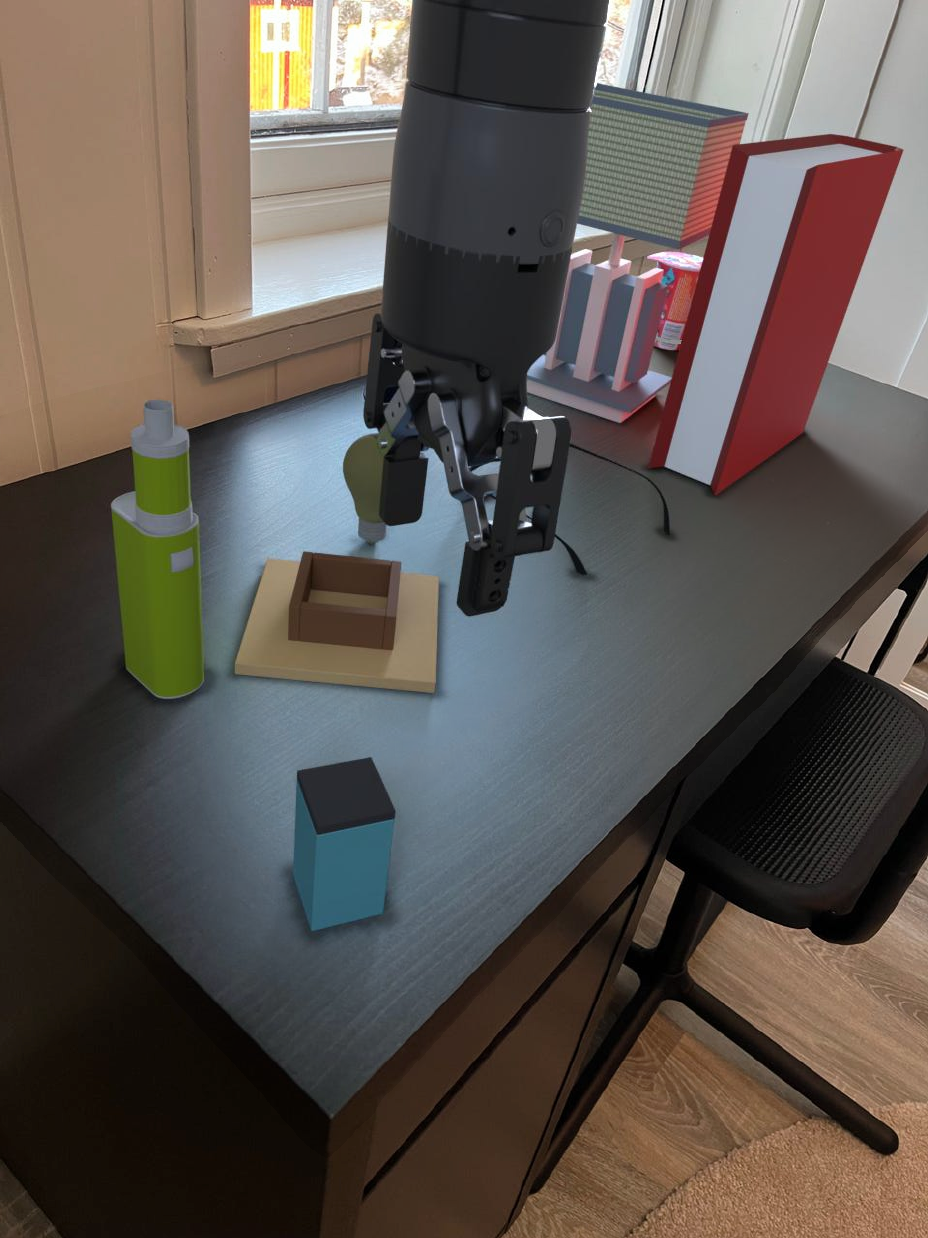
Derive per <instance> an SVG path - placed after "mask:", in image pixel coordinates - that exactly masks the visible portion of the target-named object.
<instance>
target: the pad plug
mask: <svg viewBox="0 0 928 1238" xmlns="http://www.w3.org/2000/svg"><path fill="white" fill-rule="evenodd" d="M295 786H296V788H295V813H294V817H295V818H294V837H293V838H294V839H293V864H292V865H293V866H292V875H293V878H294V882H295V885H296V888H297V891H298V894H299V897H300V900H301V903H302V906H303V909H304V913H305V916H306V919H307V922H308V924H309V928H310V930H311V932H315V931H319V930H323V929H327V928H331V927H335V926H339V925H343V924H347V923H352V922H356V921H359V920H363V919H366V918H371V917H375V916H379V915H383V914H384V909H385V902H386V901H385V900H386V893H387V884H388V876H389V869H390V862H391V861H390V860H391V853H392V845H393V836H394V828H395V827H394V826H395V822H396V821H395V820H396V813H397V811H396V808H395V806H394V804H393V802H392V800H391V798H390V797H391V796H390V795H389V793H388V790H387V788H386V786H385V784H384V781H383V779H382V777H381V775H380V773H379V771H378V768H377V766H376V764H375V762H374V760H373V757H372V756H368V757H364V758H357V759H354V760H353V759H352V760H348V761H342V762H336V763H331V764H325V765H321V766H320V765H319V766H315V767H310V768H304V769H298V770H297V771H296V785H295Z"/></svg>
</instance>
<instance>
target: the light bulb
mask: <svg viewBox="0 0 928 1238" xmlns="http://www.w3.org/2000/svg"><path fill="white" fill-rule="evenodd" d="M378 433H379V432H373V433H372V432H371V433H367V434H365V435H362V436H360V437H359V438H357V439H355V440H354V441H353V442H352V443H351V444H350V446H349V447H348V449H346V452H345V454H344V458H343V461H342V473H343V478H344V482H345V484H346V487H347V489H348V491H349V493H350V495H351V497H352V500H353V504H354V511H355V514H356V515H357V517H358V526H357V535H358V536H359V538H361V539H362V540H363V541H364V542H365V543H367V544H370V545H374V544H377V543H378V542H380V541H383V540H384V539H385V538H386V537H387V527H388V525H386V524H385V523H384V522H383V520H382V519H381V518H380V517H379V505H380V494H381V482H382V471H383V459H384V456H382V455H381V454H380V452H379V450H378V446H377V436H378Z"/></svg>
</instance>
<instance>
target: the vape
mask: <svg viewBox="0 0 928 1238" xmlns="http://www.w3.org/2000/svg"><path fill="white" fill-rule="evenodd" d="M142 406H143V421H144V423H142V424H140V425H136V427H134V428H133V429H132V430H131V431H130V434H129V435H130V446H131V449H132V450H131V451H132V463H133V464H132V465H133V477H134V491H130V492H126V493H124V494H121V495H119V496H117V497H116V498H115V499H113V500H112V502H111V503H110V509H111V521H112V530H113V531H112V532H113V543H114V552H115V563H116V575H117V585H118V597H119V607H120V616H121V628H122V629H121V630H122V638H123V648H124V649H123V650H124V662H125V670H127V671H128V673H130V674H131V675H132V676H133V677H134V678H135V679H136V680H137V681H138V682H139V683H140V684H141V685H143V686H144V687H145V689H147V690H148V691H149V692H150V693H151V694H152V695H153V696H155V698H156V697H157V698H158V699H165V700H173V699H179V698H182V697H186V696H188V695H190V694H192V693H194V692H195V691H197V690H199V689H200V688H201V687H202V685H203V684H204V682H205V665H204V664H205V663H204V661H205V660H204V639H203V638H204V637H203V636H204V635H203V631H204V630H203V603H202V577H201V576H202V575H201V547H200V546H201V545H200V544H201V543H200V518H199V516H198V514H197V513H195V512H194V511H193V502H192V496H191V495H192V494H191V493H192V492H191V469H190V467H191V465H190V435H189V431H188V430H187V429H186V428H185V427H183V426H180V425H179V424H175V419H174V418H175V416H174V404H173V403H172V402H171V401H168V400H165V399H159V398H158V399H157V398H156V399H149V400H146V401H145V402H143V404H142Z"/></svg>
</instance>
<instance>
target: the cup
mask: <svg viewBox="0 0 928 1238" xmlns="http://www.w3.org/2000/svg"><path fill="white" fill-rule="evenodd" d="M646 258H647V259H648V260H649V259H650V260H654V261H656V268H659V269H662V270H664V271H663V275H662V279H661V283H662V284H666V285H669V286H668V290H667V294H666V299H665V303H664V307H663V311H662V315H661V319H660V323H659V327H658V331H657V335H656V336H658V337H660V338H664V339H667V340H682V337H683V333H684V330H685V326H686V322H687V318H688V314H689V310H690V307H691V303H692V299H693V295H694V291H695V288H696V284H697V280H698V276H699V272H700V268H701V265H702V261H703V256H699V255H695V254H691V253H686V252H680V251H679V252H678V251H660V252H657V253H652V254H649V255H648V256H646ZM680 345H681V344H671V343H665V342H661V341H658V340H656V339H655V344H654V347H655V348H658V349H662V350H667V351H679V349H680Z"/></svg>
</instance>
